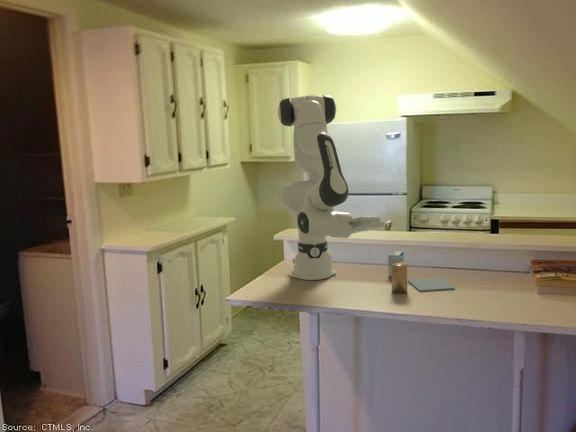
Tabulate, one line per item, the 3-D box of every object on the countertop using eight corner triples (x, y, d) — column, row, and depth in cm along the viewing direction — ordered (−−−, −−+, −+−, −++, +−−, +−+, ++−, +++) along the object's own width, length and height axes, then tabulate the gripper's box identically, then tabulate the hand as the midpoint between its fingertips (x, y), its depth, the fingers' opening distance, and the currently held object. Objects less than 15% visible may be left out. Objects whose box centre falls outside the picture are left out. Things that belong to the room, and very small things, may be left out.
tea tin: (389, 290, 190) (389, 263, 189) (404, 289, 191) (404, 262, 189) (394, 294, 185) (394, 267, 183) (409, 293, 185) (409, 266, 184)
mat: (407, 281, 200) (407, 280, 200) (440, 279, 201) (440, 277, 201) (419, 291, 187) (419, 290, 187) (454, 289, 188) (454, 287, 188)
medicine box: (399, 277, 206) (399, 255, 205) (388, 276, 208) (388, 254, 207) (403, 271, 213) (403, 251, 212) (393, 271, 215) (393, 250, 214)
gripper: (359, 211, 170) (393, 213, 176) (326, 220, 188) (358, 222, 194) (360, 230, 169) (394, 232, 175) (326, 237, 187) (358, 238, 193)
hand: (375, 226), depth 185 cm, fingers open, 8 cm apart
